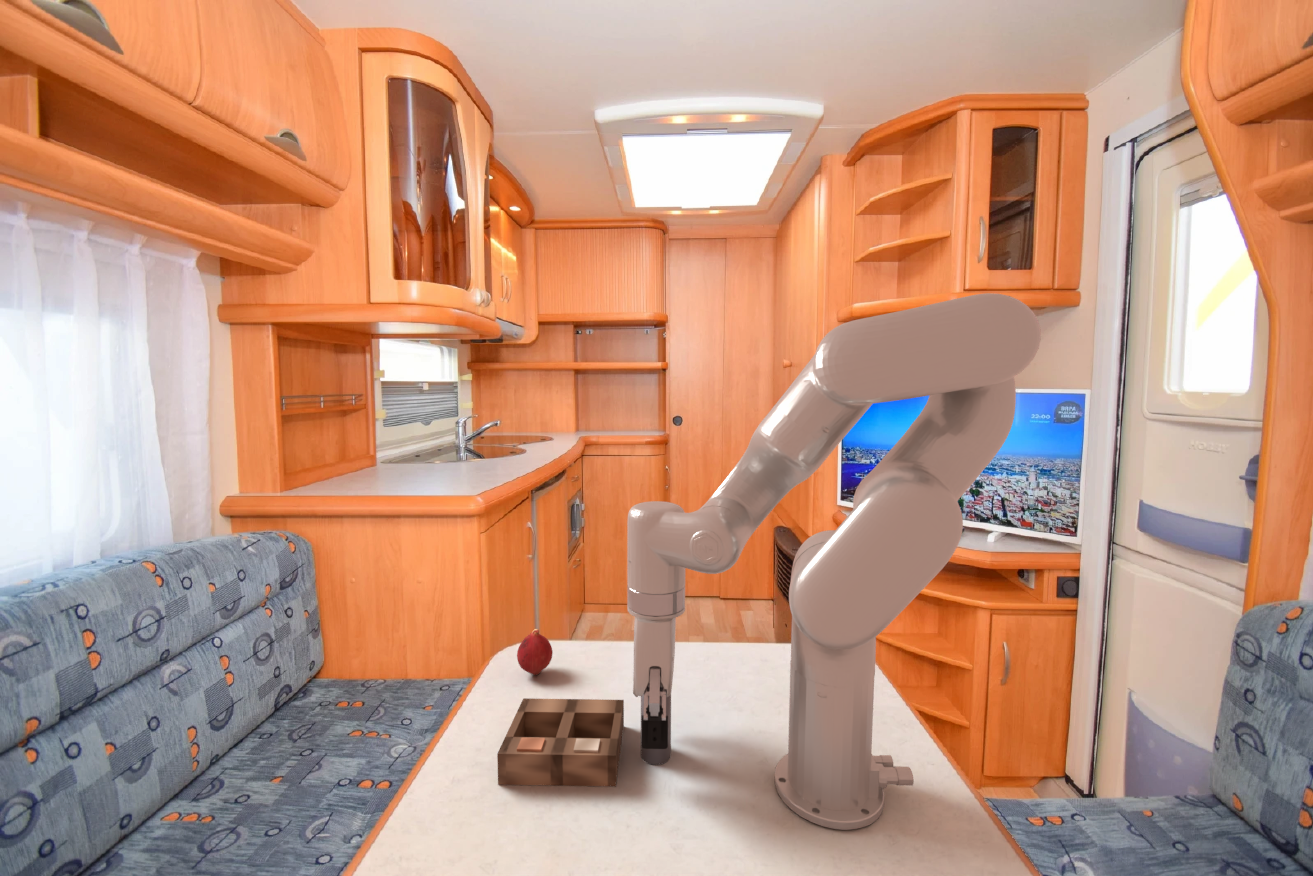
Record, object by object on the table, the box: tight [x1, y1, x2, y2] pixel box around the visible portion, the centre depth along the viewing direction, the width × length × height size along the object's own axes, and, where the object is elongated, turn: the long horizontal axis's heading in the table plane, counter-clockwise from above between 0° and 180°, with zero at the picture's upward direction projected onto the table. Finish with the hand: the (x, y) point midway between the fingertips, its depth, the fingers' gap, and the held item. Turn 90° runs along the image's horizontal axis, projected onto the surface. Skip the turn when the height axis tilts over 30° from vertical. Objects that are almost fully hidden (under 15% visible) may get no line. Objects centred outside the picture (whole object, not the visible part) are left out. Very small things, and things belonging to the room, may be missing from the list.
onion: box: [516, 628, 554, 676], centre depth 92 cm, size 6×6×8 cm
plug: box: [640, 684, 672, 766], centre depth 72 cm, size 4×4×10 cm
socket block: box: [496, 698, 625, 788], centre depth 72 cm, size 14×12×4 cm
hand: (655, 723), depth 72 cm, fingers open, 9 cm apart
